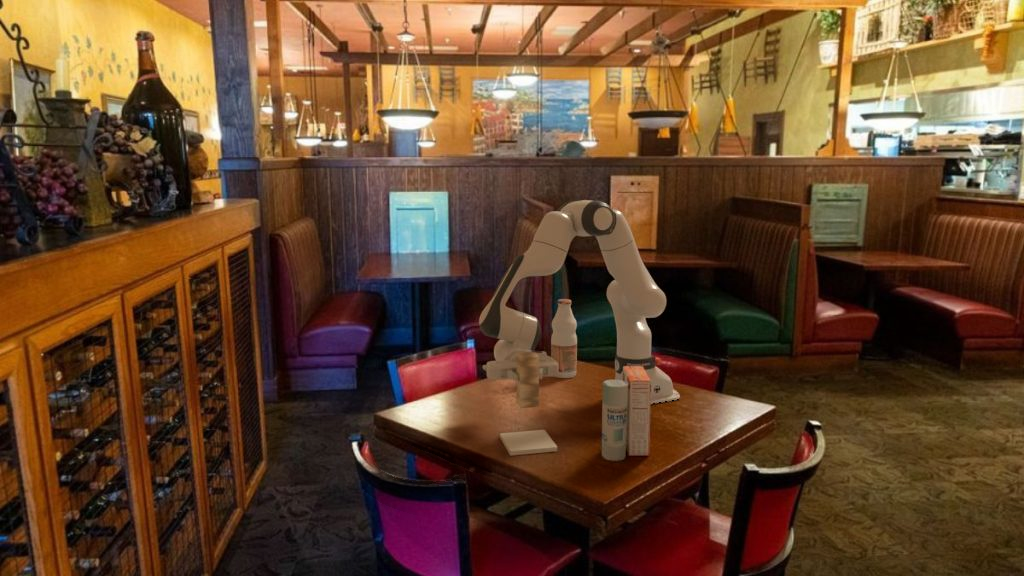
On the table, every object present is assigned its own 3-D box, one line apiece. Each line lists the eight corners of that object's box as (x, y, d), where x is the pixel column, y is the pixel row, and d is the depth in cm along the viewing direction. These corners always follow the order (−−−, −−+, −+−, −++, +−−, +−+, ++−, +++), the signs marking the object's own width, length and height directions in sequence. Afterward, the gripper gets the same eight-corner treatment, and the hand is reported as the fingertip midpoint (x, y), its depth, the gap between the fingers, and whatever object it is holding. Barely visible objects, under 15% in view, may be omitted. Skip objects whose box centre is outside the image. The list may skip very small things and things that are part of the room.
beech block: (533, 401, 195) (534, 351, 193) (538, 406, 190) (539, 356, 188) (516, 402, 194) (516, 352, 192) (520, 408, 189) (521, 357, 187)
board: (544, 433, 202) (544, 429, 202) (557, 451, 189) (557, 446, 189) (499, 437, 199) (499, 433, 199) (510, 455, 187) (510, 451, 186)
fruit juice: (546, 376, 257) (547, 301, 253) (557, 370, 266) (558, 297, 261) (570, 380, 253) (571, 303, 248) (580, 373, 261) (581, 299, 256)
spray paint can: (605, 461, 183) (606, 387, 179) (598, 452, 189) (599, 380, 186) (629, 460, 184) (631, 386, 180) (621, 450, 190) (623, 378, 187)
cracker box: (620, 436, 200) (622, 365, 196) (641, 436, 200) (644, 365, 196) (626, 456, 186) (628, 380, 182) (649, 456, 186) (652, 380, 182)
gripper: (481, 354, 201) (490, 367, 187) (550, 351, 205) (564, 363, 192) (481, 376, 202) (490, 390, 188) (550, 372, 206) (564, 386, 193)
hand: (528, 377), depth 190 cm, fingers closed on beech block, 5 cm apart
